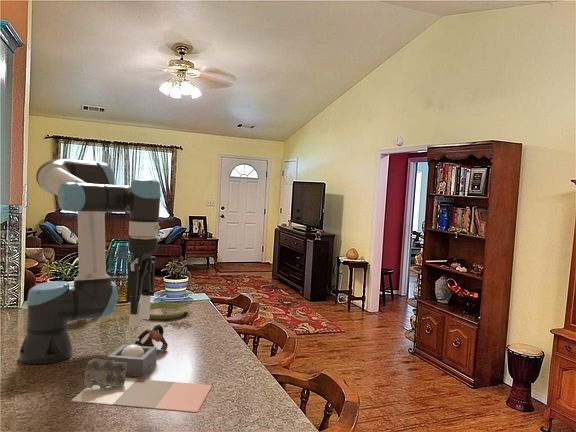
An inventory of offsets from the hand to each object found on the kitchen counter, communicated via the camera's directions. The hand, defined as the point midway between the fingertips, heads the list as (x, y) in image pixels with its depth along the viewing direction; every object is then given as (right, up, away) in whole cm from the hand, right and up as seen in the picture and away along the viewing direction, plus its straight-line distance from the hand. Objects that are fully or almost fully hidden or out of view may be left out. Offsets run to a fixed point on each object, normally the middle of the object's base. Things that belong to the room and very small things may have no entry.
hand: (139, 322), depth 121 cm
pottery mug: (-4, -17, +35) cm, 39 cm away
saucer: (-15, -16, +77) cm, 80 cm away
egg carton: (-10, -19, +3) cm, 22 cm away
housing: (-8, -18, +17) cm, 26 cm away
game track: (+1, -19, +1) cm, 20 cm away
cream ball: (-8, -18, +17) cm, 26 cm away
